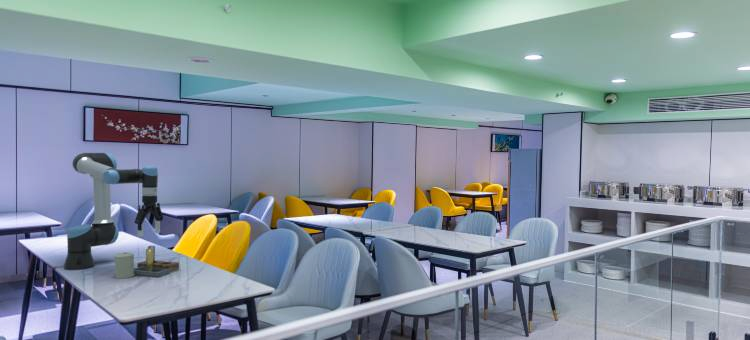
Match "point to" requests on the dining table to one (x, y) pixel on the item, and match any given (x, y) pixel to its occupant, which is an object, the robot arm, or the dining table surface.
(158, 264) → the block
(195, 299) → the dining table surface
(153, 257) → the steel pin
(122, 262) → the can
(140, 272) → the tray
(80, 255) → the robot arm
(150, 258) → the brass pin
